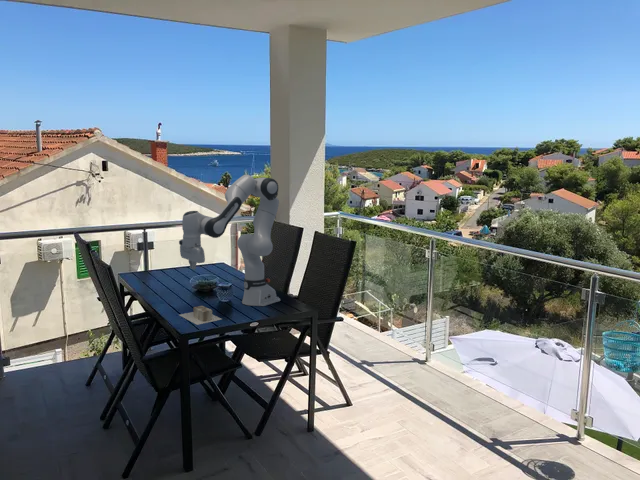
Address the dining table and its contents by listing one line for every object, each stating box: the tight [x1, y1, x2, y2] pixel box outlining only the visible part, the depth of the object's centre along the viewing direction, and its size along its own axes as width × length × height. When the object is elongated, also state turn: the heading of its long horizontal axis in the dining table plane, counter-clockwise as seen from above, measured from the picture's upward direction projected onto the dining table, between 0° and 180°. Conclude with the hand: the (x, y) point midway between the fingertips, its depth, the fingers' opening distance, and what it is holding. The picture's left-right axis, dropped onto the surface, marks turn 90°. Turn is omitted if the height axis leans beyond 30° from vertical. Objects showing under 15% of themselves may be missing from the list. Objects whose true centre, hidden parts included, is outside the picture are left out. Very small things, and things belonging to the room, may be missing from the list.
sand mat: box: [179, 311, 223, 326], centre depth 244 cm, size 14×20×1 cm
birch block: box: [193, 305, 213, 322], centre depth 241 cm, size 5×5×10 cm
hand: (193, 268), depth 248 cm, fingers closed
